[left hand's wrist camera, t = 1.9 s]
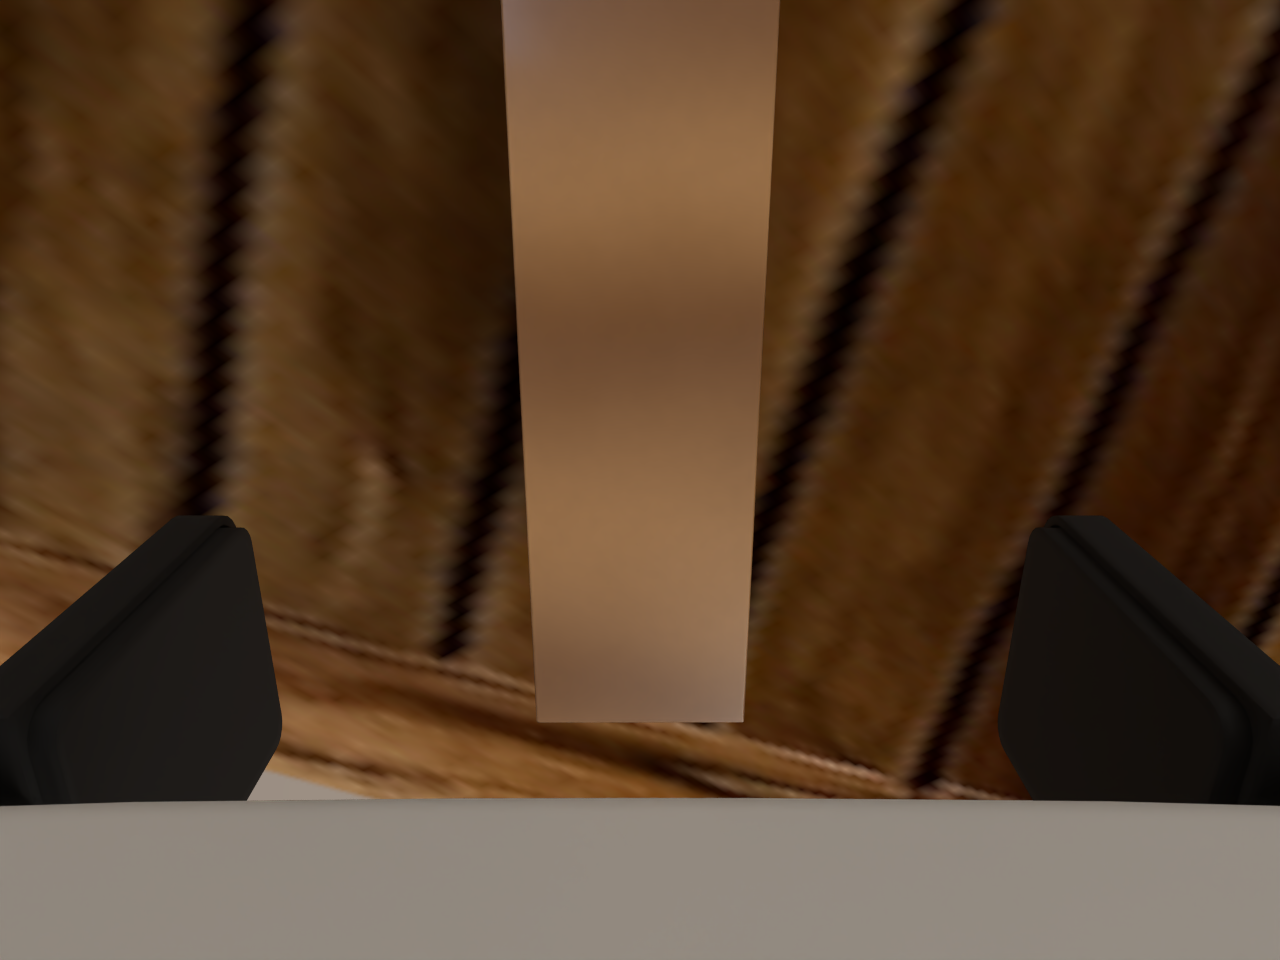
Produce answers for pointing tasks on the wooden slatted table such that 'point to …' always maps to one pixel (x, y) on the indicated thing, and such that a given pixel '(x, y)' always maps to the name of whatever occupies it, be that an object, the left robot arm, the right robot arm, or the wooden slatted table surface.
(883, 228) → the wooden slatted table surface
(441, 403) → the wooden slatted table surface
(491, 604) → the wooden slatted table surface
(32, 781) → the left robot arm
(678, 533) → the post
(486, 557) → the wooden slatted table surface
